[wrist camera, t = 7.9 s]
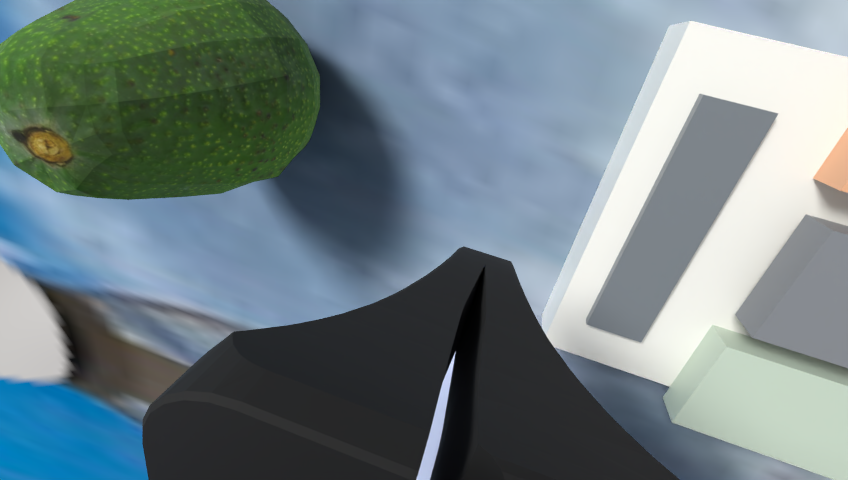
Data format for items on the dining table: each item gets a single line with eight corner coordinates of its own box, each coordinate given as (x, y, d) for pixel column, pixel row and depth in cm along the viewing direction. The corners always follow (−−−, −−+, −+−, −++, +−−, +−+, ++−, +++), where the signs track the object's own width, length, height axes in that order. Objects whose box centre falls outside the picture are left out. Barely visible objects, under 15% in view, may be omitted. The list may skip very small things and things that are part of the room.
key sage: (845, 460, 18) (869, 492, 17) (662, 397, 19) (671, 422, 18) (920, 391, 16) (954, 420, 15) (712, 324, 17) (726, 346, 16)
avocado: (238, 166, 23) (-16, 261, 13) (188, 8, 20) (-198, -42, 10) (370, 152, 21) (196, 254, 10) (335, -28, 18) (42, -146, 7)
